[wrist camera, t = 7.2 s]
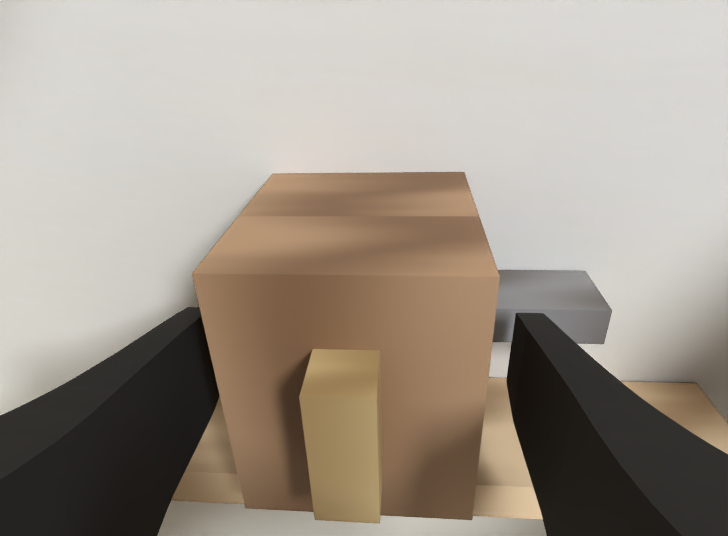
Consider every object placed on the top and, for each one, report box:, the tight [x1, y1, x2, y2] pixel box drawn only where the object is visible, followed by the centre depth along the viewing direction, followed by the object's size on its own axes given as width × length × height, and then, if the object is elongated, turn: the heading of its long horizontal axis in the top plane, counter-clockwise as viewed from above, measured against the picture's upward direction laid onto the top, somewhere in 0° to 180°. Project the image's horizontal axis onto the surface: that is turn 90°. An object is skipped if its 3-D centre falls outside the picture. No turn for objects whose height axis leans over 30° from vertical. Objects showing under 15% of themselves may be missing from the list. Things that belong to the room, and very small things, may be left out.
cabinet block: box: [192, 172, 500, 523], centre depth 11 cm, size 5×6×7 cm
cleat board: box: [171, 270, 728, 519], centre depth 13 cm, size 18×5×4 cm, turn 92°
